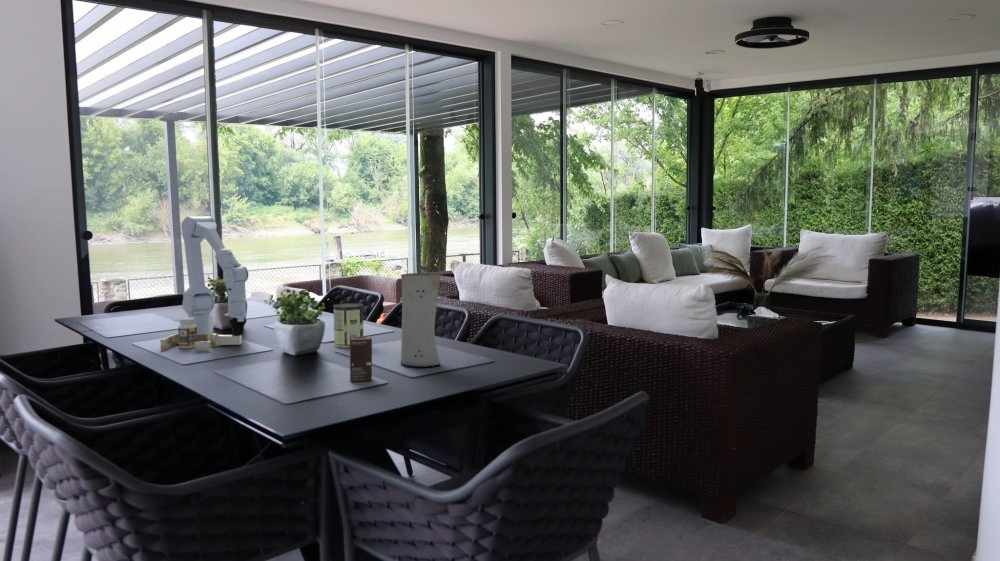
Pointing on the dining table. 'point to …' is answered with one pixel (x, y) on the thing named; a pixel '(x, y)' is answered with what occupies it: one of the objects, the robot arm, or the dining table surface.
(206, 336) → the oak jamb corner
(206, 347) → the bracket
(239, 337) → the bar
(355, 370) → the box
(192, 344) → the pill bottle
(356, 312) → the coffee can
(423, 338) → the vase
